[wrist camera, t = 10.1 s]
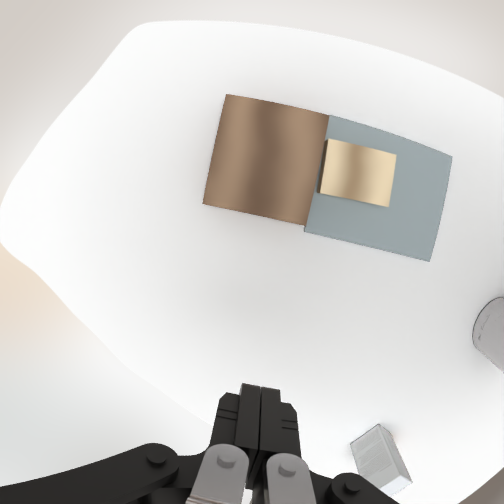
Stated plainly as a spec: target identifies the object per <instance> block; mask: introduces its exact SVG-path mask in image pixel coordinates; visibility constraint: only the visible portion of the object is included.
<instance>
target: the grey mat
mask: <svg viewBox="0 0 504 504" xmlns="http://www.w3.org/2000/svg"><path fill="white" fill-rule="evenodd" d="M327 139H334V140H338V141H343V142H347V143H352V144H356V145H360V146H364V147H368V148H372V149H376V150H380V151H384V152H388V153H392V154H395V155H397V156H396V163H395V171H394V177H393V184H392V190H391V196H390V202H389V207H385V206H380V205H376V204H371V203H366V202H362V201H357V200H352V199H347V198H342V197H337V196H332V195H327V194H322V193H317V187H318V181H319V174H320V168H321V162H322V156H321V161H320V166H319V170H318V175H317V180H316V184H315V189H314V193H313V198H312V202H311V207H310V211H309V216H308V220H307V224H306V226H305V230H304V231H305V232H308V233H312V234H317V235H321V236H325V237H330V238H334V239H338V240H343V241H347V242H351V243H355V244H359V245H364V246H368V247H372V248H376V249H380V250H384V251H388V252H392V253H396V254H400V255H404V256H408V257H412V258H416V259H420V260H424V261H428V262H430V259H431V255H432V251H433V248H434V244H435V240H436V236H437V232H438V228H439V224H440V220H441V215H442V211H443V206H444V201H445V196H446V191H447V186H448V181H449V175H450V169H451V163H452V156H449V155H447V154H445V153H442V152H440V151H437V150H435V149H432V148H430V147H427V146H425V145H422V144H419V143H417V142H414V141H411V140H409V139H406V138H403V137H400V136H397V135H394V134H392V133H389V132H386V131H383V130H380V129H376V128H373V127H370V126H367V125H364V124H360V123H357V122H354V121H350V120H347V119H343V118H340V117H336V116H332V115H329V121H328V126H327V131H326V136H325V141H326V140H327ZM325 141H324V142H325ZM323 148H324V146H323ZM322 155H323V151H322Z"/></svg>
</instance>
